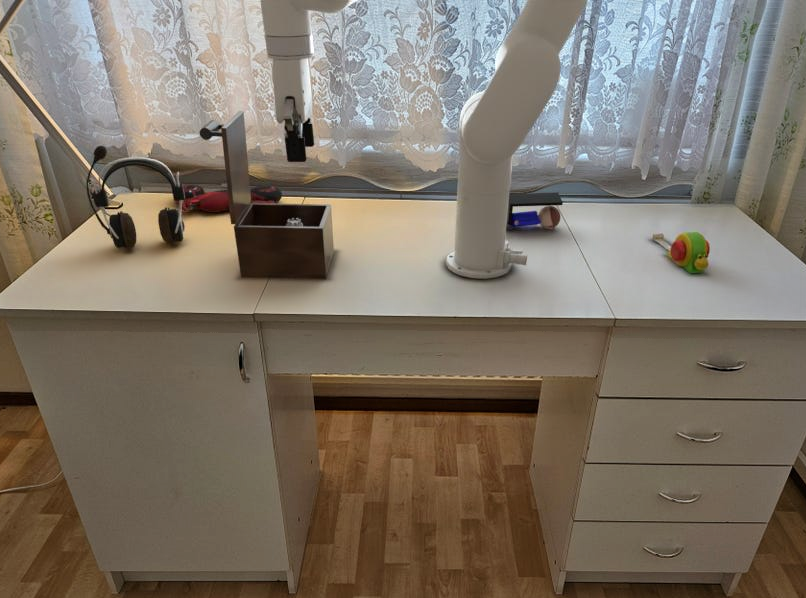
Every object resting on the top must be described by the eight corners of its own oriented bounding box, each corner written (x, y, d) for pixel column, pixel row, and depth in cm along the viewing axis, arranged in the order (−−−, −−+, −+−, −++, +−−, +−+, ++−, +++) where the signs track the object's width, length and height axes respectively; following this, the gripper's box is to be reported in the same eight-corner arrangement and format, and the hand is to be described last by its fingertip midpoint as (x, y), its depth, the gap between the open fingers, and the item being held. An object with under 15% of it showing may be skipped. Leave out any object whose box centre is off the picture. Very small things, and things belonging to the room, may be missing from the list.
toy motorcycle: (180, 201, 158) (156, 214, 143) (178, 179, 156) (153, 190, 141) (285, 206, 159) (272, 219, 144) (284, 184, 157) (271, 195, 142)
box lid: (243, 111, 117) (213, 109, 117) (225, 128, 106) (192, 126, 106) (251, 200, 126) (222, 199, 126) (235, 224, 115) (204, 222, 115)
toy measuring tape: (685, 278, 125) (693, 246, 121) (642, 239, 141) (648, 209, 137) (716, 277, 126) (725, 244, 122) (670, 238, 142) (677, 208, 138)
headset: (100, 258, 126) (72, 153, 116) (103, 243, 132) (76, 142, 122) (194, 248, 131) (175, 146, 121) (192, 234, 137) (174, 136, 127)
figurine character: (494, 239, 143) (563, 232, 142) (492, 205, 139) (563, 198, 138) (490, 227, 149) (557, 221, 148) (489, 195, 144) (557, 188, 144)
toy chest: (333, 251, 132) (331, 204, 126) (326, 279, 121) (322, 228, 116) (255, 250, 131) (249, 202, 126) (241, 277, 121) (233, 226, 115)
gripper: (276, 40, 114) (288, 141, 123) (255, 54, 99) (270, 168, 108) (319, 40, 114) (328, 141, 123) (305, 54, 99) (316, 167, 109)
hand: (301, 153), depth 116 cm, fingers open, 9 cm apart
